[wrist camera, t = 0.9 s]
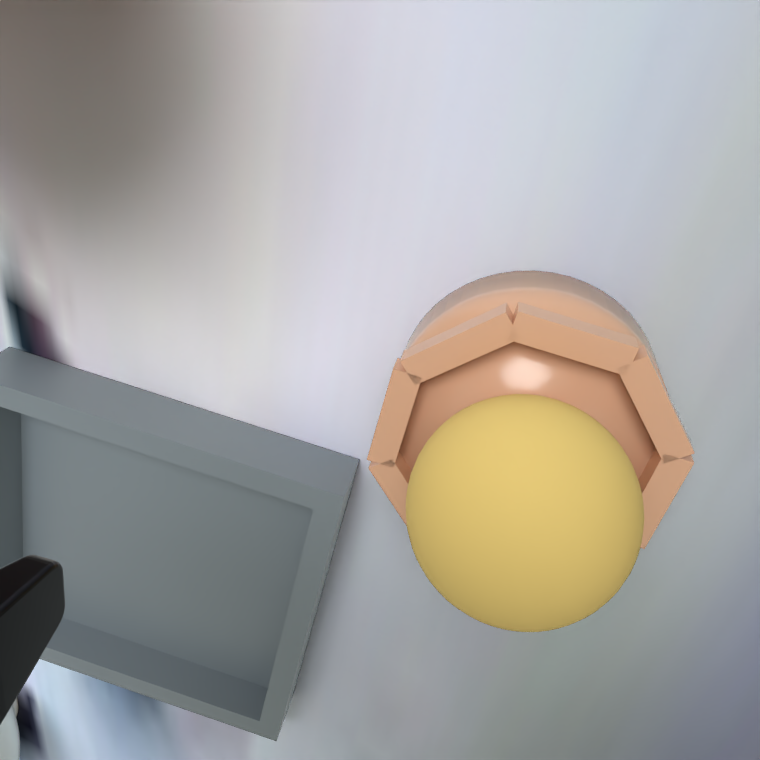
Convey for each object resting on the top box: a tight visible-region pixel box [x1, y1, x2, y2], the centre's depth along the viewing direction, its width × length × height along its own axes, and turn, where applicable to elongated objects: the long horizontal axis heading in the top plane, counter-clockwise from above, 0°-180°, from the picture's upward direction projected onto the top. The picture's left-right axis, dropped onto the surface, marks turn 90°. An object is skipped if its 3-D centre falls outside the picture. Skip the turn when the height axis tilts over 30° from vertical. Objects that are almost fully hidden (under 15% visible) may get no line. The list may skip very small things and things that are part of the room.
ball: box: [406, 394, 644, 632], centre depth 15 cm, size 5×5×5 cm
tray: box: [0, 347, 359, 741], centre depth 24 cm, size 12×12×2 cm
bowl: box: [367, 271, 694, 549], centre depth 18 cm, size 7×7×4 cm
